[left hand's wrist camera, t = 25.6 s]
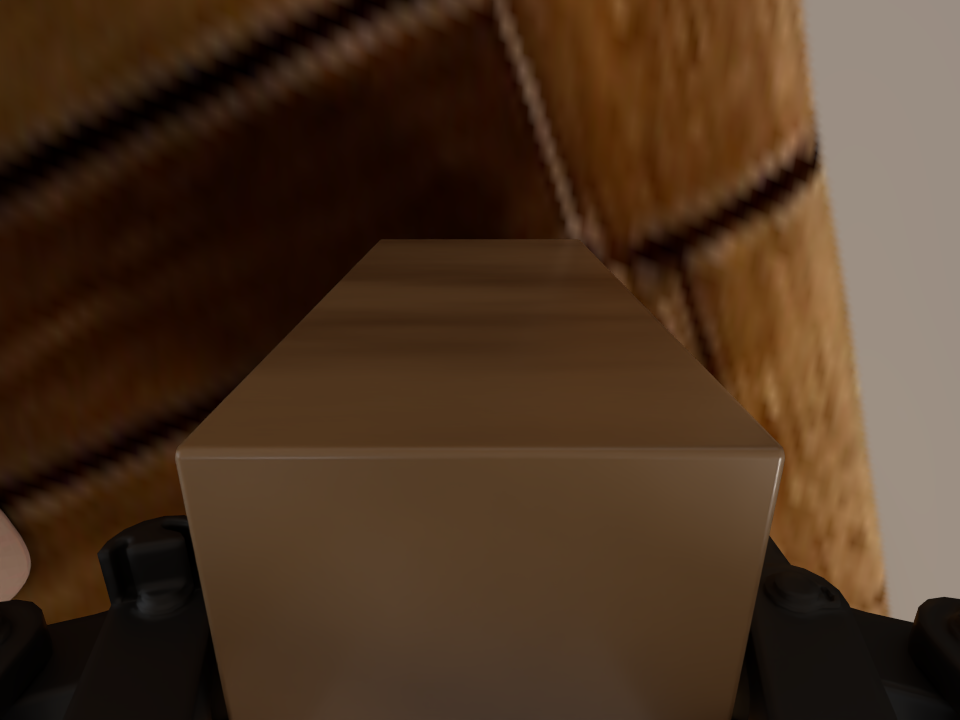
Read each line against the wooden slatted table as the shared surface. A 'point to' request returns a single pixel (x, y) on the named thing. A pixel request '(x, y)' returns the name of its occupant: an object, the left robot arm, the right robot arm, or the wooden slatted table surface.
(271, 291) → the wooden slatted table surface
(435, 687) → the block
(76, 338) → the wooden slatted table surface
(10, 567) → the anatomical model
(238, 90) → the wooden slatted table surface
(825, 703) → the left robot arm
